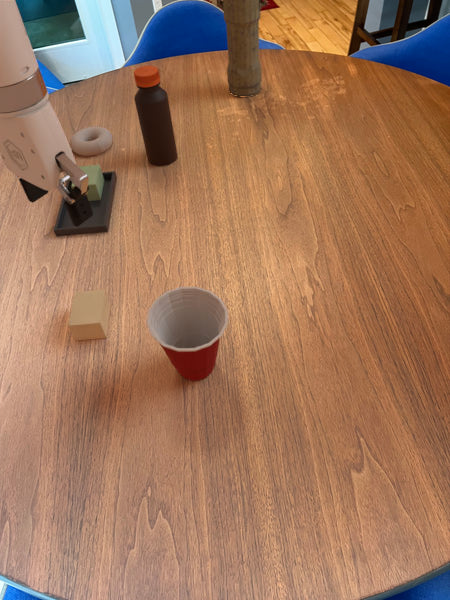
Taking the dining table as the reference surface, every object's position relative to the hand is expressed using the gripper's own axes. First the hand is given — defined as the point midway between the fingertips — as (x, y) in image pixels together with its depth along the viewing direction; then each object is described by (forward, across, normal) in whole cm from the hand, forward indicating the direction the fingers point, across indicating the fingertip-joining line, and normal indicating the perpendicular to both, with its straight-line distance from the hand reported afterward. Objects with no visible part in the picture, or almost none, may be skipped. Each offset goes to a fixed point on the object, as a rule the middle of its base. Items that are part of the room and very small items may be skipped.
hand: (60, 208), depth 68 cm
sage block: (+19, -24, +20) cm, 36 cm away
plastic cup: (+20, +23, -1) cm, 30 cm away
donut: (+20, -37, +32) cm, 53 cm away
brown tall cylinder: (+20, -22, +74) cm, 80 cm away
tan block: (+19, +3, -4) cm, 20 cm away
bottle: (+20, -19, +37) cm, 46 cm away
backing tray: (+19, -21, +16) cm, 33 cm away
